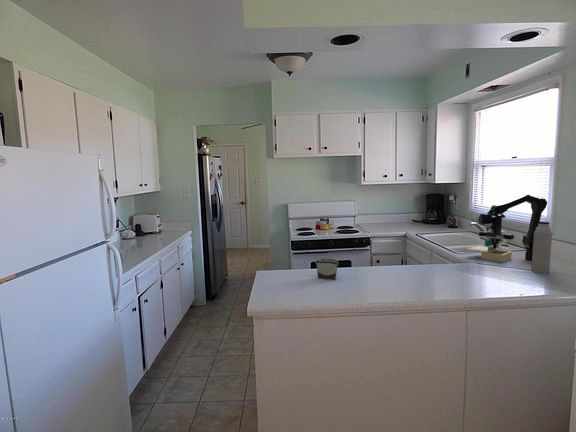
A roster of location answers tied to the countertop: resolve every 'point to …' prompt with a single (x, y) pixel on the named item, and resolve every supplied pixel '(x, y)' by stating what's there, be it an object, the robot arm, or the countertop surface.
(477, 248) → the carton lid
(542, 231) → the thermos bottle
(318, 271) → the food container
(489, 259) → the carton
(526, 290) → the countertop surface
